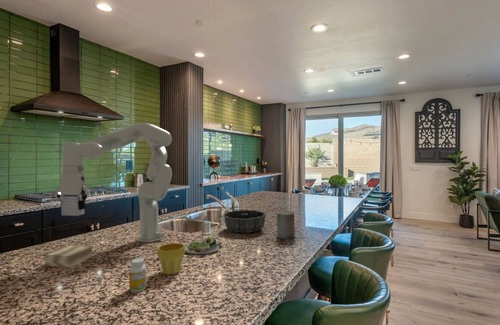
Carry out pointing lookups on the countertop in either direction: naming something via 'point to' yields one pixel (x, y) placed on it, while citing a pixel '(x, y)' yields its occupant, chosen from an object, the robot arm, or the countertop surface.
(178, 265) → the plant pot
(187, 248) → the salad plate
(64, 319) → the countertop surface
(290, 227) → the pillar candle
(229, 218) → the bundt pan
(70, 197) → the medicine box
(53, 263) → the birch block
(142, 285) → the supplement bottle
